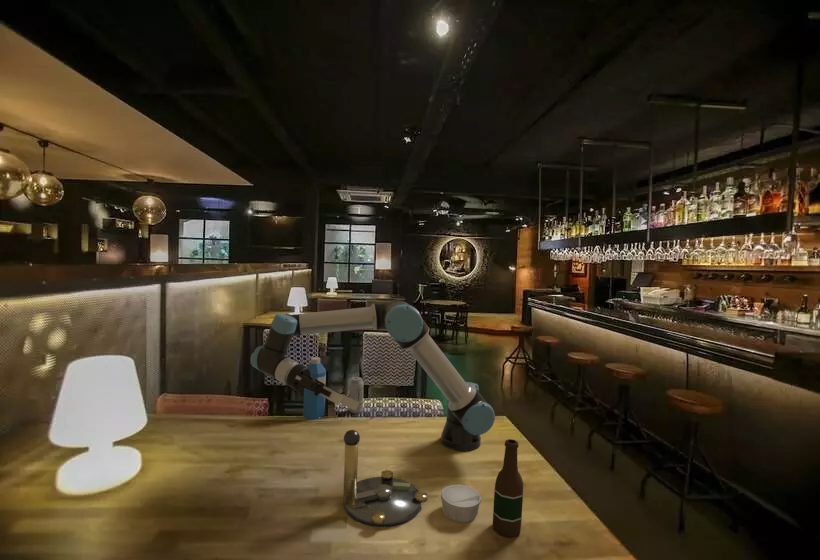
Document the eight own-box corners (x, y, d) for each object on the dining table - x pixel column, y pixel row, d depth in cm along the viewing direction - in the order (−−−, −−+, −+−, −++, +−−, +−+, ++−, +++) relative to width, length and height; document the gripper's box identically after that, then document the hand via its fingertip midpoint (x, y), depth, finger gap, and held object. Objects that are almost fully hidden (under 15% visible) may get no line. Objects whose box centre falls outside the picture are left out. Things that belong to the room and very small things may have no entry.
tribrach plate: (427, 482, 138) (428, 472, 138) (426, 535, 113) (427, 523, 113) (352, 477, 140) (353, 468, 139) (334, 528, 114) (335, 516, 114)
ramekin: (469, 530, 115) (470, 511, 115) (432, 515, 121) (433, 497, 121) (486, 510, 125) (487, 492, 125) (451, 497, 131) (451, 480, 130)
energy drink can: (356, 415, 192) (357, 381, 191) (346, 411, 195) (347, 378, 194) (365, 411, 197) (366, 378, 196) (355, 408, 200) (356, 375, 199)
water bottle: (329, 413, 193) (330, 357, 191) (317, 420, 184) (319, 362, 182) (310, 410, 196) (311, 354, 194) (298, 417, 187) (300, 359, 185)
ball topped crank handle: (387, 489, 129) (390, 420, 128) (394, 498, 125) (397, 427, 124) (339, 500, 123) (341, 428, 121) (344, 510, 118) (347, 435, 117)
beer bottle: (488, 520, 120) (493, 434, 118) (516, 519, 121) (521, 435, 119) (496, 539, 112) (501, 448, 111) (526, 538, 113) (531, 448, 111)
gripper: (305, 392, 147) (358, 420, 139) (266, 377, 125) (325, 410, 117) (316, 371, 149) (368, 398, 141) (279, 353, 127) (339, 384, 119)
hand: (349, 403), depth 129 cm, fingers open, 13 cm apart
